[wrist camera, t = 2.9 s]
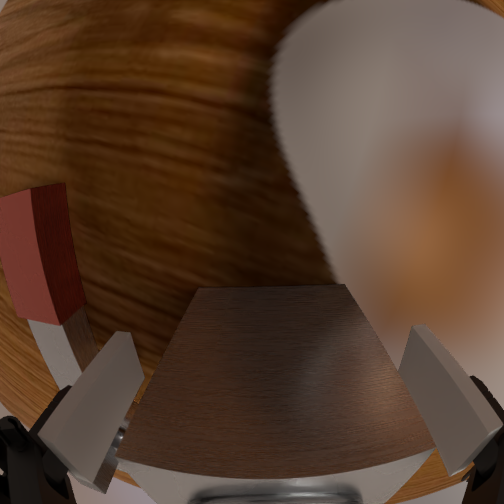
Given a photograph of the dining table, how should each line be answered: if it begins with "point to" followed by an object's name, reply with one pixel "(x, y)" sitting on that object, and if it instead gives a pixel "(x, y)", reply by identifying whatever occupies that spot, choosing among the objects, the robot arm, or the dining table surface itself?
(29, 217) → the ratchet
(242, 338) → the cube with chrome dome
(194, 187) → the dining table surface
